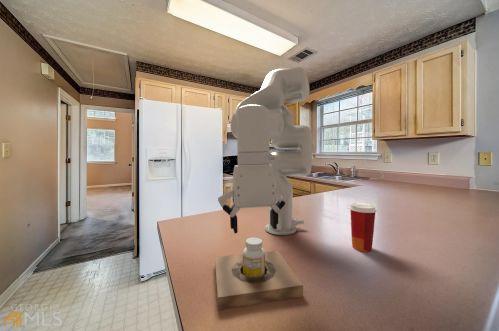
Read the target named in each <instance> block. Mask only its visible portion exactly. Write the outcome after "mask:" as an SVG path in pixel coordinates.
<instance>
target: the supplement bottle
mask: <svg viewBox="0 0 499 331" xmlns="http://www.w3.org/2000/svg"><path fill="white" fill-rule="evenodd" d="M265 252H266V251H265V249H264V247H263V240H262V239H261V238H260V237H248V238H247V239H246V240H245V248H243V252H242V254H243V275H245V276H246V277H251V278H256V277H261V276H263V275H265Z"/></svg>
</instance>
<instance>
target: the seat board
mask: <svg viewBox="0 0 499 331" xmlns="http://www.w3.org/2000/svg"><path fill="white" fill-rule="evenodd" d="M214 261H215V262H214V267H215V281H216V282H215V285H216V298H217V310H225V309H232V308H238V307H244V306H250V305H251V306H252V305H257V304H263V303H270V302H275V301H281V300H282V301H283V300H288V299H294V298H295V299H296V298H302V297H304V284H303V283H302V282H301V280H300V279H299V278H298V276H297V275H296V274H295V271H293V269H292V268H291V266H290V265H289V264H288V262H287V261H286V260H285V259H284V257H283V256H282V254H281V253H280V252H279V250H272V251H265V275H263V276H261V277H256V278H251V277H246V276H245V275H243V253H242V254H234V255H224V256H215V257H214Z"/></svg>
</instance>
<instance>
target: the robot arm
mask: <svg viewBox="0 0 499 331" xmlns="http://www.w3.org/2000/svg"><path fill="white" fill-rule="evenodd" d="M309 96H310V83H309V78H308V74H307V72H306V70H305V69H304V68H303V67H300V66H293V67H287V68H286V67H285V68H284V67H283V68H277V69H274V70H272V71H269V73H267V75H266V76H265V78H264V80H263V83H262V85H261V88H260V89H259V90H257V91H255V92H254V93H252V94H250V95H249V96H248V97H246V98H244V99H243V100H241V102H239V103H238V105H237V106H236V108H235V109H234V112H233V113H232V116H231V119H230V131H231V134H232V136H233V137H234V138H236V144H237V145H236V148H237V165H234V167H233V172H232V189H230V190H229V191H227V192H225V193H223V194H222V195H221V196H219V197H217V201H218V203H219V206H221V208H222V210H223V211H224V212H225V213H226V214H228V216H229V218H230V219H229V220H230V221H229V222H230V229H231V230H233V233H234V234H238V232H239V231H238V216H237V214H238V212H239V211H240V210H241V209H254V208H256V209H257V208H264V207H265V208H266V207H268V223H267V224H265V225H264V230H265V231H266V232H268V233H269V234H272V235H276V236H289V235H292V234H294V233H296V232H297V227H296V226H298V225H299V226H302V225H304V224H305V221H304V219H298V218H293V216H294V215H293V214H294V213H293V202H294V200H293V194H294V193H293V190H294V189H293V185H292V183H291V181H290V180H289V179H288V177H307V176H309V175H310V174H311V171H312V167H313V166H312V162H313V160H312V159H313V155H312V154H313V135H312V130H311V128H310V127H309V126H308V125H304V124H301V125H298V124H297V125H294V114H293V112H292V111H291V110H290V109H289V108H288V107H287V106H286V105H285V104H291V103H302V102H305V101H307V100H308V98H309ZM270 140H271V145H272V147H273V148H274V149H276V150H299V151H275V152H270ZM231 198H232V202H233V204H232V205H231V206H229V205H228V204H227V203H226V202H227V200H229V199H231Z"/></svg>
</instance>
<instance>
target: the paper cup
mask: <svg viewBox="0 0 499 331" xmlns="http://www.w3.org/2000/svg"><path fill="white" fill-rule="evenodd" d="M348 209H349V210H350V230H351V231H350V232H351V233H350V234H351V247H352V248H353V249H354V250H356V251H358V252H363V253H370V252H372V249H373V241H374V240H373V239H374V234H375V233H374V232H375V220H376V213H377V212H378V211H377V209H376V207H375V206H374V205H373V204H369V203H363V202H355V203H351V204H350V205H349V207H348Z"/></svg>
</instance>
